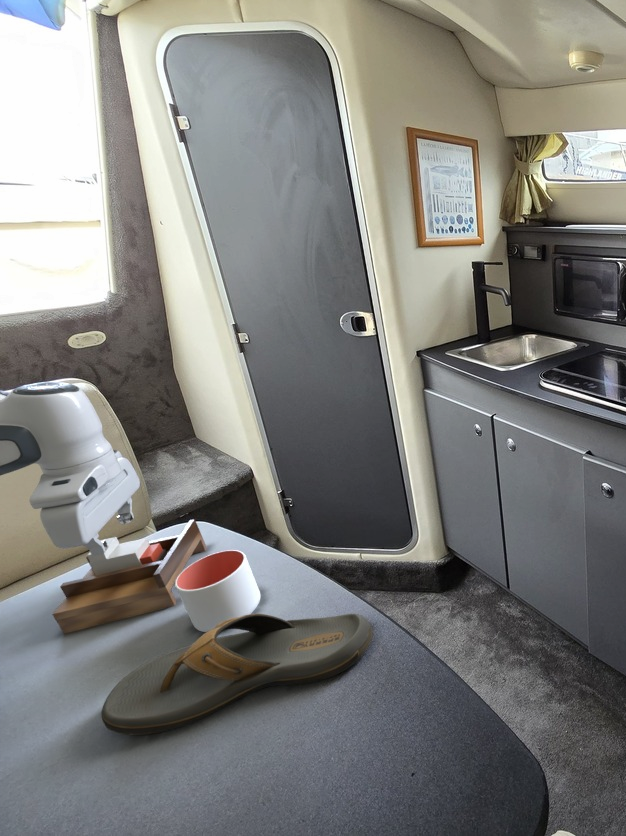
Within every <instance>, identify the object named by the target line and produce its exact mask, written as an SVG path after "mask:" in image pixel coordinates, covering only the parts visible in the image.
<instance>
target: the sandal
mask: <svg viewBox="0 0 626 836" xmlns="http://www.w3.org/2000/svg"><path fill="white" fill-rule="evenodd" d="M226 630H241V631H245V632H240V633H234V634H229V635H223V636H219V634H221V633H222V632H223V631H226ZM218 636H219V637H218ZM373 636H374V630H373V627H372V625H371V622H370V621H368V619H367V618H366V617H365V616H363V615H361V614H359V613H346V614H340V615H334V616H326V617H312V618H311V617H310V618H299V619H288V620H285V619H283V618H280V617H277V616H273V615H269V614H264V613H251V614H249V615H245V616H242V617H237V618H232V619H229V620H226V621H224V622H222V623H220V624H218V625H217V626H216V627H215V628H214V629H212V630H210V631H208V632H204V633H203V634H201V636H199V638H197V639H196V640H195V641H194V642H193V643H192V644H189V645H186V646H183V647H179V648H177V649H174V650H172V651H169V652H167V653H164V654H162V655H159V656H158V657H155V658H154V659H151V660H149V661H147V662H145V663H144V664H141V665H140V666H138V667H137V668H135V669H133V670H132V671H130V672H129V673H128V674H127V675H126V676H125V677H122V679H121V680H119V682H118V683H117V684H116V685H115V686H114V687H113V688H112V690H111V691H110V692H109V694H108V695H107V696H106V699H105V700H104V703H103V705H102V708H101V715H100V716H101V719H102V723H103V724H104V726H105V728H107V729H108V731H111V732H114V733H117V734H121V735H124V736H129V735H132V736H137V735H138V736H141V735H149V734H158V733H163V732H168V731H171V730H176V729H179V728H181V727H185V726H188V725H191V724H194V723H196V722H197V721H200V720H202V719H204V718H207V717H208V716H210V715H212V714H214V713H216V712H218V711H220V710H222V709H223V708H225V707H227V706H229V705H230V704H232V703H234V702H236V701H238V700H240V699H242V698H243V697H246V696H247V695H249V694H251V693H255V692H256V691H258V690H261V689H264V688H268V687H272V686H273V687H274V686H290V685H291V686H292V685H295V686H296V685H302V684H310V683H315V682H319V681H323V680H327V679H329V678H332V677H335V676H337V675H338V674H341V673H343V672H344V671H346V670H348V669H349V668H350V667H352V666H353V665H354V664H356V663H357V661H359V660H360V659H361V658H362V657H363V656H364V655H365V653H366V652H367V650H368V649H369V646H370V645H371V642H372V640H373Z"/></svg>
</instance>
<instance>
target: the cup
mask: <svg viewBox="0 0 626 836" xmlns="http://www.w3.org/2000/svg"><path fill="white" fill-rule="evenodd" d="M251 568H252V567H251V566H250V563H249V561H248V558H247V556H246V554H245V552H243V551H241V550H237V549H228V550H221V551H217V552H214V553H211V554H208V555H206V556H204V557H201V558H200V559H198V560H195V561H194V562H192V563H191V564H189V565H188V566H187V567H185V568H183V570H182V571H181V573H180V574H179V576H178V577H177V579H176V581H175V583H174V587H175V589H176V591H177V593H178V595H179V598H180V600H181V602H182V604H183V606H184V609H185V611H186V612H187V615H188V618H189V620H190V621H191V624H192V625H193V627H194V628H195V629H196V630H197V631H200V632H203V633H206V632H208V631H210V630H212V629H214V628H215V627H216V626H217V625H218V624H220V623H222V622H224V621H226V620H229V619H232V618H237V617H242V616H245V615H249V614H253V612H254V611H255V610H256V609H257V607H258V606H259V604H260V601H261V591H260V588H259V586H258V584H257V581H256V578H255V576H254V573H253V571H252V569H251Z"/></svg>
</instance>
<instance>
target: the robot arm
mask: <svg viewBox="0 0 626 836" xmlns="http://www.w3.org/2000/svg"><path fill="white" fill-rule="evenodd" d="M33 464H35V465H38V466H39V467H40V470H41V471H42V474H41V475H40V478H39V480H38V483H37V484H36V485H37V486H36V487H35V489H34V491H33V492H32V494H31V495H30V496H29V504H30V507H32V509H34V510H39V509H40V513H39V518H40V520H41V524H42V526H43V528H44V530H45V532H46V534H47V536H48V537H49V539H50V541H51V542H52V543H53V545H54V546H55V547H56V548H58V549H61V550H67V549H73V548H77V547H84V548H86V549H88V551H89V553H91V555H93V556H97V555H102V554H104V553H105V551H106V550H107V549H108V545H107V543H106V541H100V540H101V539H99V537H100V534H99V532H100V531H101V530H102V529H103V528H104V526H105V525H107V523H108V522H109V521H110V520H111V519H112V518H113V517H114V516H115V514H116V513H117V516H116V519H117V521H118V524H119V525H126V524H130V523H131V522H133V520H134V519H135V516H134V513H133V499H132V496H133V495H134V494H135V493H136V492H137V491H138V489H139V488H140V487H141V480H140V478H139V476H138V473H137V471H136V470H135V468H134V466H133V464H132V463H131V462H130V460H129V459H128V458H126V457H123V455H122V452H120V451H119V450H117V449H114V448H113V446H112V444H111V443H110V442H109V441H108V440H107V439H106V437H105V436H104V433H103V423H102V421H101V419H100V416H99V415H98V413H97V411H96V409H95V407H94V405H93V403H92V402H91V399H89V397H88V396H87V394H86V393H85V392H84V391H83V389H81V388H80V387H79V386H77V385H75V384H72V383H67V382H63V381H43V382H35V383H30V384H24V385H21V386H18V387H16V388H13V389H12V390H11V392H8V391H5V390H2V389H0V476H3V475H6V474H10V473H13V472H15V471H18V470H19V471H20V470H21V469H23V468H27V467H29V466H31V465H33Z"/></svg>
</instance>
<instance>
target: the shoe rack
mask: <svg viewBox="0 0 626 836" xmlns="http://www.w3.org/2000/svg"><path fill="white" fill-rule="evenodd" d="M148 542H149V544H150V545H154V544H159V543H160V545H161V547H162V549H166V551H167V555H166V556H165V558H164V559H163V560H161V561H157V562H153V563H148V564H144V565H139V566H135V567H131V568H126V569H122V570H118V571H113V572H109V573H104V574H100V575H95V573H94V571H93V569H92V567H91V565H90V564H89V563H90V561H89V559H88V557H87V556H86V557H85V558H86V561H87V562H88V564H89V566H90V569H89V570H88V572H86V574H85V575H84V576H83V577H82V578H79V579H74V580H70V581H65V582H63V583H62V584H60V587H59V588H60V590H61V591H62V593H63V595H64V596H65V598H64V600H63V601H62V602H61V603H60V605H58V607H57V608H56V609H55V611H53V612H52V614H51V615H52V617H53V618H54V619H55V621H56V623H57V625H58V626H59V628H60V630H61V631H62V633H63V634H68V633H72V632H77V631H81V630H84V629H88V628H93V627H96V626H101V625H104V624H109V623H111V622H117V621H119V620H123V619H124V620H125V619H127V618H132V617H136V616H141V615H144V614H148V613H151V612H155V611H160V610H163V609H168V608H171V607H175V606H176V604H177V602H178V601H177V598H176V597H175V595H174V593H173V591H172V589H173V586H175V581H176V579H177V577H178V576H179V574H180V573H181V572H182V571H183V570H184V569H185V566H186V565H187V563H188V561H189V560H190V559H191V556H192V555H194V554H198V553H199V554H200V553H202V552H206V551H207V549H208V546H207V544H206V542H205V541H204V538H203V535H202V533H201V530H200V528H199V526H198V523H197V521H196V519H194V518H193V519H190V520H189V521H188V522H187V523H186V525H185V526H184V527H183V530H182V531H181V532H180V534H176V535H172V536H167V537H161V538H156V539H152V540H148Z"/></svg>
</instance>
